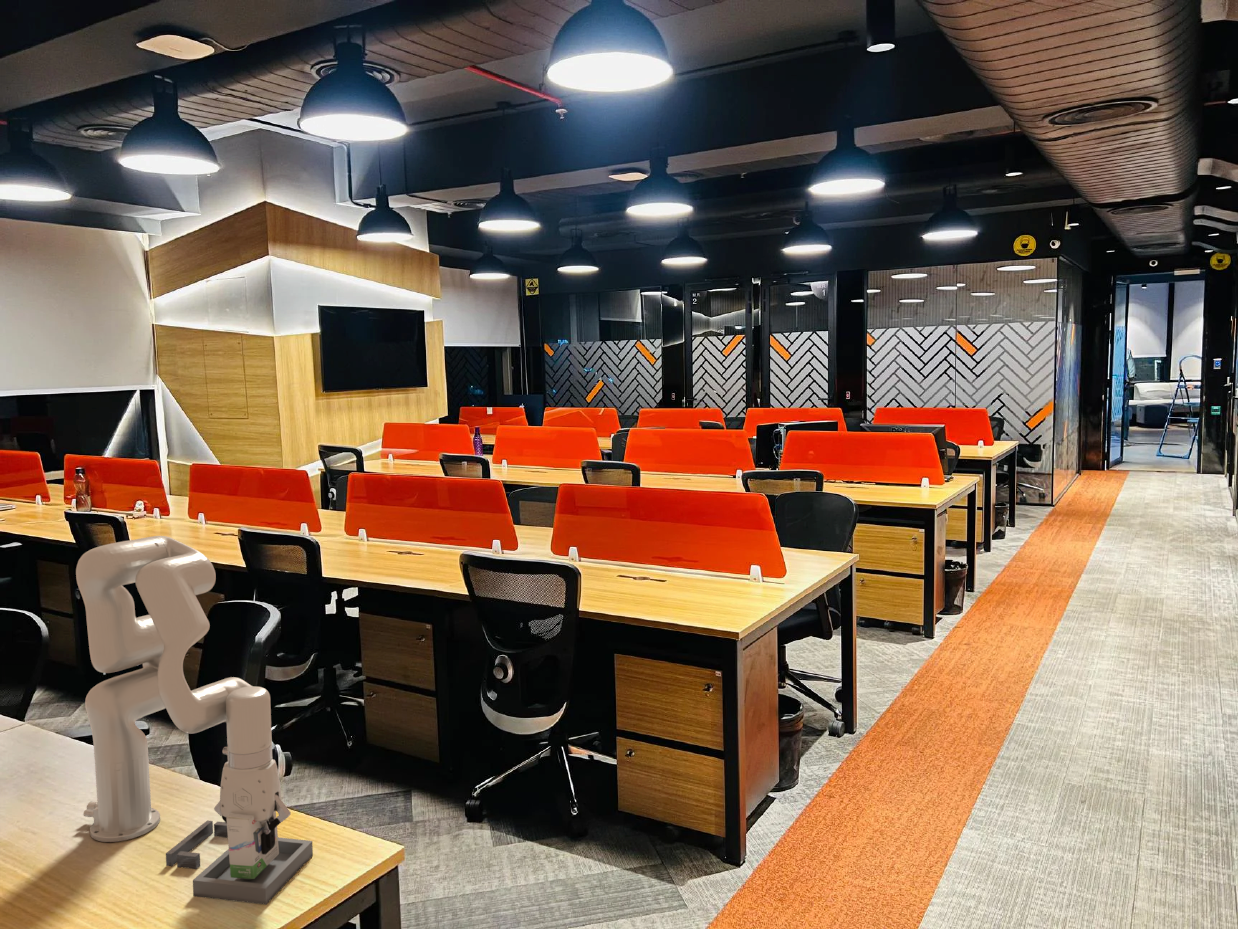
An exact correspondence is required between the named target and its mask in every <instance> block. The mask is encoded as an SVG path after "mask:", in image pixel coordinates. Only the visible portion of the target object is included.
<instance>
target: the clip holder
mask: <svg viewBox="0 0 1238 929" xmlns="http://www.w3.org/2000/svg"><path fill="white" fill-rule="evenodd" d="M213 823H214V822H213V820H206V821H204V822H203V823H202V824H201V825H200V826H198V827H197V828H196V829H195V830H193V831H191V833H190V834H188V835H187V836H186V837H184V838H183V839H182V840H181V841H179V842H178V843H176V845H174V846H173V847H172V848H171V849H169V850H168V851H167V852H166V853H165V866H166V867H174V866H175V865H176V866H177V868H181V867H183V868H182V869H188V870H189V869H192V870H197V869H198V868H200V867H201V853H199V852H191V851H193V850H195V848H197V845H198V844H199V845H200V844H201V843H202V842H204V841H205V840H206V839H207V838H209V836H211V835H212V834H213V833H214V834H213V835H214V837H219V838H227V839H228V833H227V823H226V822H225V821H216V822H215V823H214V824H213ZM203 840H204V841H203ZM199 845H198V846H199ZM192 849H193V850H192Z"/></svg>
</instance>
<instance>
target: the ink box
mask: <svg viewBox="0 0 1238 929" xmlns="http://www.w3.org/2000/svg"><path fill="white" fill-rule="evenodd" d="M276 812H277V811H274V814H275V817H276V818H277V813H276ZM226 819H227V833H228V838H227V843H228V844H227V845H228V849H229V860H230V874H231V878H245V879H255V878H256V877H257V876H258V875H259V874H260V873H261V872H262V871H263V870H264V869H265V868H266V866H268V865H269V864H270V862H271V861H272V860H273V859H274V858H275V857H276V856H277V855H279V846H278V837H279V835H278V826H277V827H276V828H275V845H274V847H273V848H272V849H271V850H270V851H269V852H268V853H267V854H266V855H264V854H262V851H261V834H262V833H263V832H264V831H263V828H262V825H261V822H260V821H254V816H253V815H242V814H235V813H230V814H229V815H228V817H227V818H226ZM268 822H269V820H268ZM269 824H270V823H269Z"/></svg>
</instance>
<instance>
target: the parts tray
mask: <svg viewBox="0 0 1238 929" xmlns="http://www.w3.org/2000/svg"><path fill="white" fill-rule="evenodd" d="M278 846H279V855H277V856H276V857H275V858H274V859H273V860H272V861H271V862H270V864H269V865H268V866H266V868H265V869H264V870H263V871H262V872H261V873H260V874H259V875H258V876H257V877H256V878H255V879H245V878H231V874H230V860H229V848H228V849H226V850H225V851H224V852H223V853H222V854H221V855H220V856H218V858H216V859H215V860H214V861H213V862H211V864H210V865H208V866H206V868H205V869H204V870H202V871H201V872H200V873H199V874H197V875H196V877H194V879H192V894H193V897H199V898H205V897H206V898H205V899H215V900H222V901H230V902H231V901H232V902H241V903H249V904H255V905H256V904H257V905H264V906H266V905H267V904H268V903H269V902H271V901H272V899H273V898H274V897H275V896H276V895H277V894H278V893H279V892H280V891H281V890H282V889H283V888H284V886H285V885H286V884H287V883H289V881H290V880H291V879H292V878H293V877H294V876H295V875H296V874H297V873H298V872H299V871H300V870H301V869H302V868H303V867H304V866H305V864H307V862H308V861H309V860H310V859H311V858H312V857H313V856H314V853H313V852H314V850H313V849H314V848H313V840H307V839H306V840H305V839H299V838H298V839H296V838H287V837H280V836H278Z"/></svg>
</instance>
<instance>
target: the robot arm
mask: <svg viewBox="0 0 1238 929" xmlns="http://www.w3.org/2000/svg"><path fill="white" fill-rule="evenodd" d="M75 575H76V576H75V577H76V578H75V579H76V584H77V586H78V590H79V591H80V594H81V597H82V600H83V604H84V607H85V616H86V617H85V618H86V626H87V629H86V630H87V637H88V638H87V640H88V646H89V647H88V649H89V655H90V660H91V661H90V662H91V665H92V667H93V668H94V670H96V671H97V672H99V673H103V674H111V673H115V672H120V671H123V670H127V669H130V668H133V667H136V666H139V665H142V668H139V669H136V670H133V671H129V672H126V673H123V674H120V675H115V676H113V677H111V678H108V679H105V680H103V681H101V682H99V683H97V684H96V685H95V686H93V687H92V688H90V690H89V691H88V693H87V694H86V697H85V702H84V705H85V706H84V707H85V711H86V716H87V718H88V721H89V725H90V729H91V735H92V741H93V742H92V744H93V756H94V767H95V784H96V785H95V786H96V799H97V800H96V801H90V802H88V803H87V805H86V809H85V810H84V811H83V814H82V815H83V817H85V818H86V817H87V818H93V823H92V824H91V825H90V828H89V832H90V833H89V835H90V837H91V838H92V839H94V840H96V841H98V842H101V843H103V842H104V843H118V842H124V841H127V840H131V839H135V838H137V837H138V838H139V837H140V836H142V835H146V834H147V833H149V832H150V831H152V830H153V829H155V828H156V827H157V826H158V824H159V823H160V821H161V813H160V812H159V810H158V809H155V808H153V807H152V798H151V797H152V796H151V781H150V761H149V747H148V746H149V745H148V738H147V737H146V735H145V732H143V731H142V730H141V729H140V728H139V727H138V726H137V725H136V722H137V720H140V719H141V718H144V717H146V716H149V715H151V714H154V713H156V712H159V711H162V710H165V709H166V711H167V713H168V715H169V718H170V719H171V720H172V722H173V724H174V725H175V727H176V728H178V730H180V731H181V732H183V733H185V734H190V735H191V734H197V733H200V732H203V731H205V730H208V729H209V728H212V727H215V726H218V725H220V724H222V723H226V737H227V738H226V741H227V746H224V747H223V748H222V755H226V756H227V761H226V762H225V763H224V765H223V768H222V772H221V781H220V788H219V801H218V802H217V804H216V805H215V806H214V808H213V810H214V811H215V812H216V814H218V816H220V817H221V819H222V820H223V822H226V823H227V819H226V818H227V817H228V815H229V814H230V813H235V814H242V815H253V816H254V821H260V822H261V825H262V828H263V831H264V832H263V833H262V834H261V851H262V854H264V855H266V854H267V853H268V852H269V851H270V850H271V849H272V848H273V847H274V845H275V828H276V827H277V828H278V826H279V825H280V824H282V823H283V822H284V821H286V820H287V818H289V817H290V816H291V814H292V813H291V810H289V808H288V806H287V805H286V804H285V803H284V802H283V800H282V787H281V781H280V774H279V769H278V765H277V762H276V760H275V759H273V742H272V741H273V739H272V715H271V714H272V709H271V694H270V692H269V691H268V690H267V689H266V688H264V687H262V686H253V685H251V684H249V683H248V682H247V681H245V680H243V679H242V678H240V677H234V676H233V677H232V676H230V677H225V678H224V679H221V680H218V681H215V682H212V683H209V684H206V685H203V686H200V687H198V688H194V689H192V690H191V688H190V686H189V685H188V683H187V680H186V678H185V677H186V676H185V674H184V659H185V657H186V655H187V653H188V651H189V649H191V647H192V646H194V645H195V644H196V643H197V642H199V641H200V640H201V639H202V638H203V637H204V636H206V635H207V634H208V632H209V630H210V626H211V625H210V621H209V619H208V618H207V616H206V613H205V612H204V610H203V608H202V605H201V603H200V602H199V600H198V598H197V596H199V595H202V594H205V593H207V592H210V591H211V590H212V589H213V587H214V586H215V584H216V579H217V578H216V570H215V568H214V564H213V563H212V562H211V560H210V558H208V557H207V556H206V554H205V555H204V553H202V552H201V551H199V550H198V549H195V548H193V547H191V546H189V545H187V544H185V543H183V542H181V541H178V540H177V539H174V538H173V537H170V536H166V535H154V536H147V537H141V538H137V539H135V538H134V539H130V540H122V541H118V542H111V543H108V544H104V545H100V546H99V545H98V546H97V547H94V548H92V549H89V550H88V551H85V552H84V553H83V554H82V555H81V556H80V558H79V559H78V561H77V564H76V568H75ZM134 583H135V587H136V588H137V589H136V590H137V592H138V593H139V595H140V598H141V601H142V602H143V604H144V606H145V609H146V610H147V611H146V612H148V614H146V615H142V616H138V617H137V616H136V610H135V608H136V607H135V601H134V598H133V596H132V594H131V593H130V592H129V590H128V589H127V588H126V587H124V586H125V585H130V584H134ZM274 811H276V812H277V814H278V816H276V817H275V814H274ZM268 820H269V822H268ZM269 823H270V824H269Z"/></svg>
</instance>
